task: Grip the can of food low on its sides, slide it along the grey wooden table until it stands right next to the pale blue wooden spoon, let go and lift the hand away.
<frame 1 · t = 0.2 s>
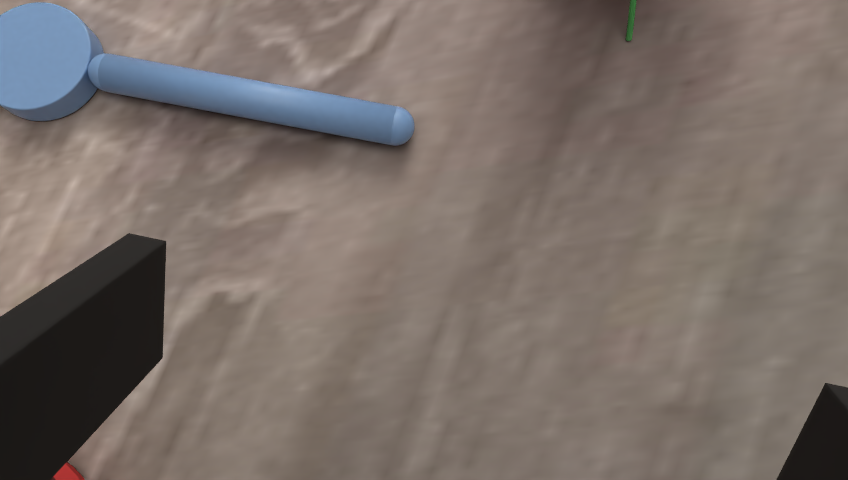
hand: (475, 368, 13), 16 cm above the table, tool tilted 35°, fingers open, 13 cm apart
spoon: (196, 96, 31), on the table
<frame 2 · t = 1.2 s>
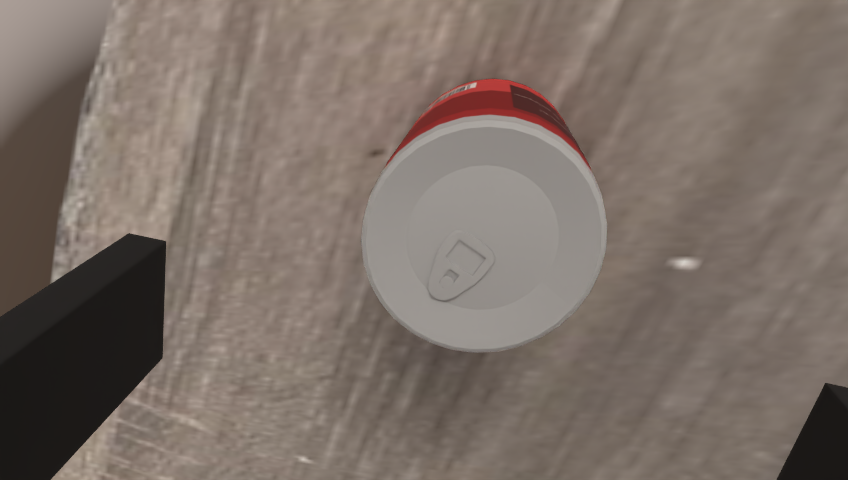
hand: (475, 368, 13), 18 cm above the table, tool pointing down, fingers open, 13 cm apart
canned food: (487, 160, 30), on the table
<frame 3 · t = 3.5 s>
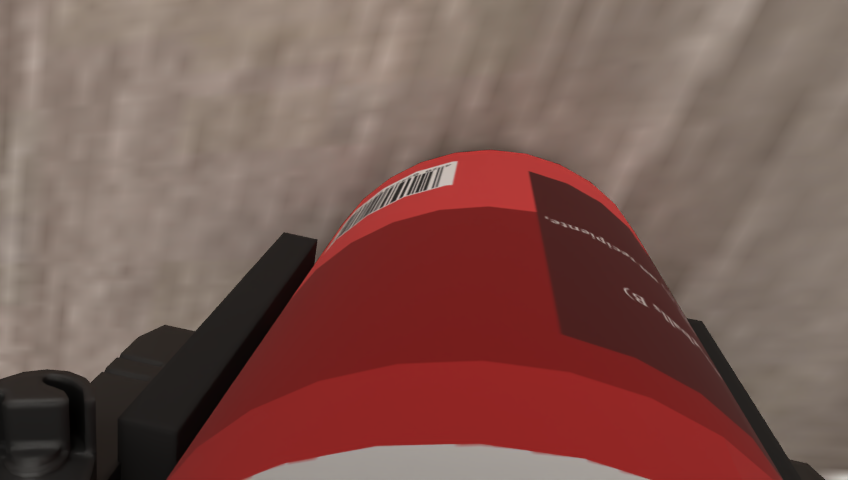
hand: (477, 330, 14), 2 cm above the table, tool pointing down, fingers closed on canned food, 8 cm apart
canned food: (479, 294, 16), on the table, touching gripper
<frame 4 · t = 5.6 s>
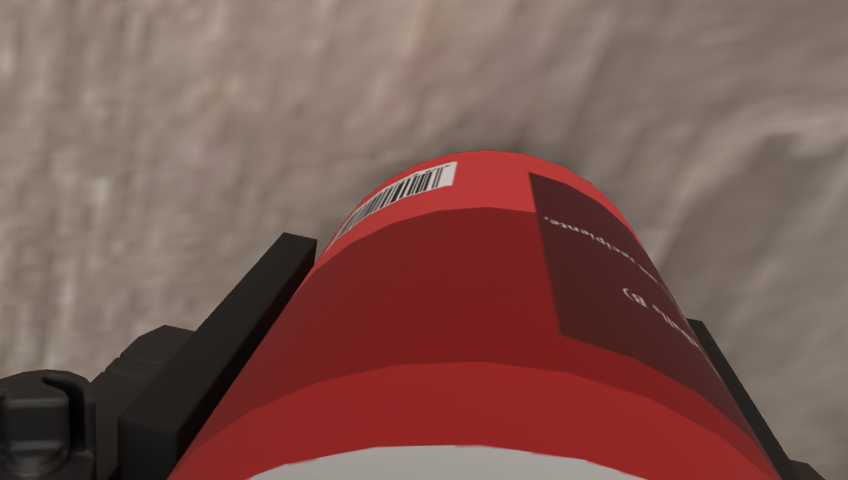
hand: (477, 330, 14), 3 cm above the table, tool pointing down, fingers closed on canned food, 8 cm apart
canned food: (479, 294, 16), point 1 cm above the table, touching gripper
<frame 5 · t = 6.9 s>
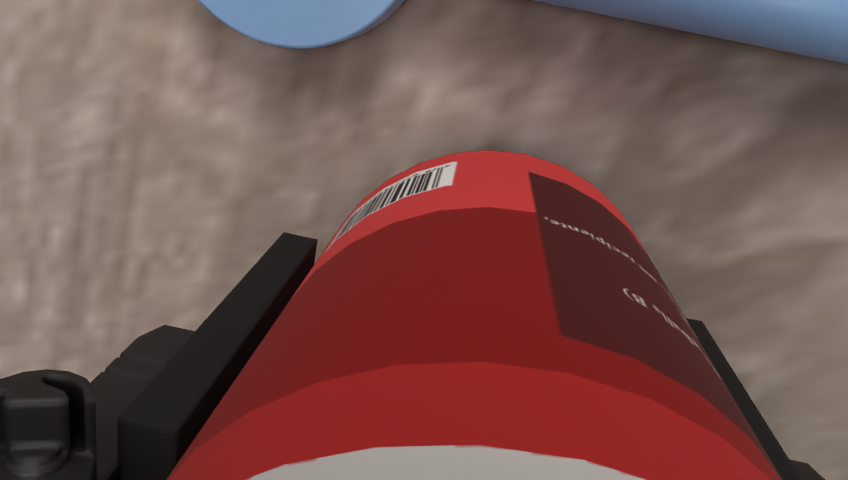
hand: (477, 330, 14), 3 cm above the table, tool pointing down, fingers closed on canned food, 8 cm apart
canned food: (479, 294, 16), point 1 cm above the table, touching gripper
when the fingers open (2 cm above the table, at t = 7.7 s): canned food stays where it is, on the table.
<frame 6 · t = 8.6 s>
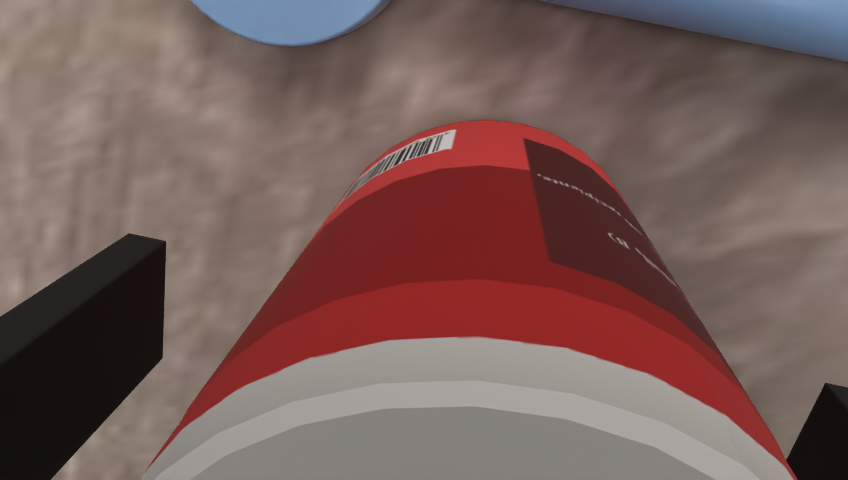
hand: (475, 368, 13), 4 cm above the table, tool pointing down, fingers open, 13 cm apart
canned food: (476, 260, 17), on the table
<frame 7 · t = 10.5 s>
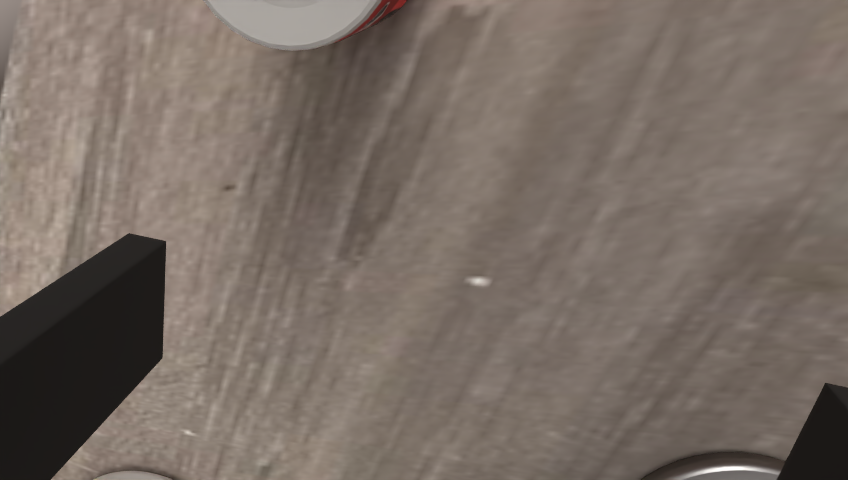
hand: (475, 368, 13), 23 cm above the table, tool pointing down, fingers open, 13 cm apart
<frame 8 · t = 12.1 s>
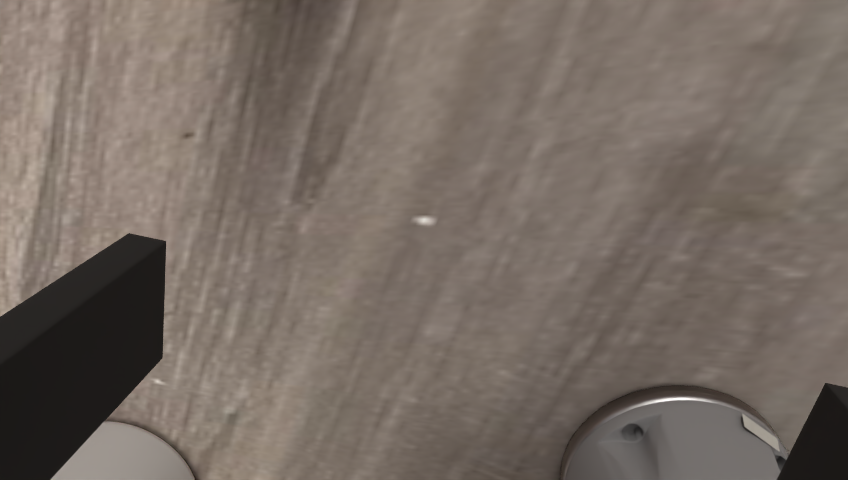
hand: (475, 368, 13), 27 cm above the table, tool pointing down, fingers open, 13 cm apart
cylinder vase: (129, 479, 51), on the table
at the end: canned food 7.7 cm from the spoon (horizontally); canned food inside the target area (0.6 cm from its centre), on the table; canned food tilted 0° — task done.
